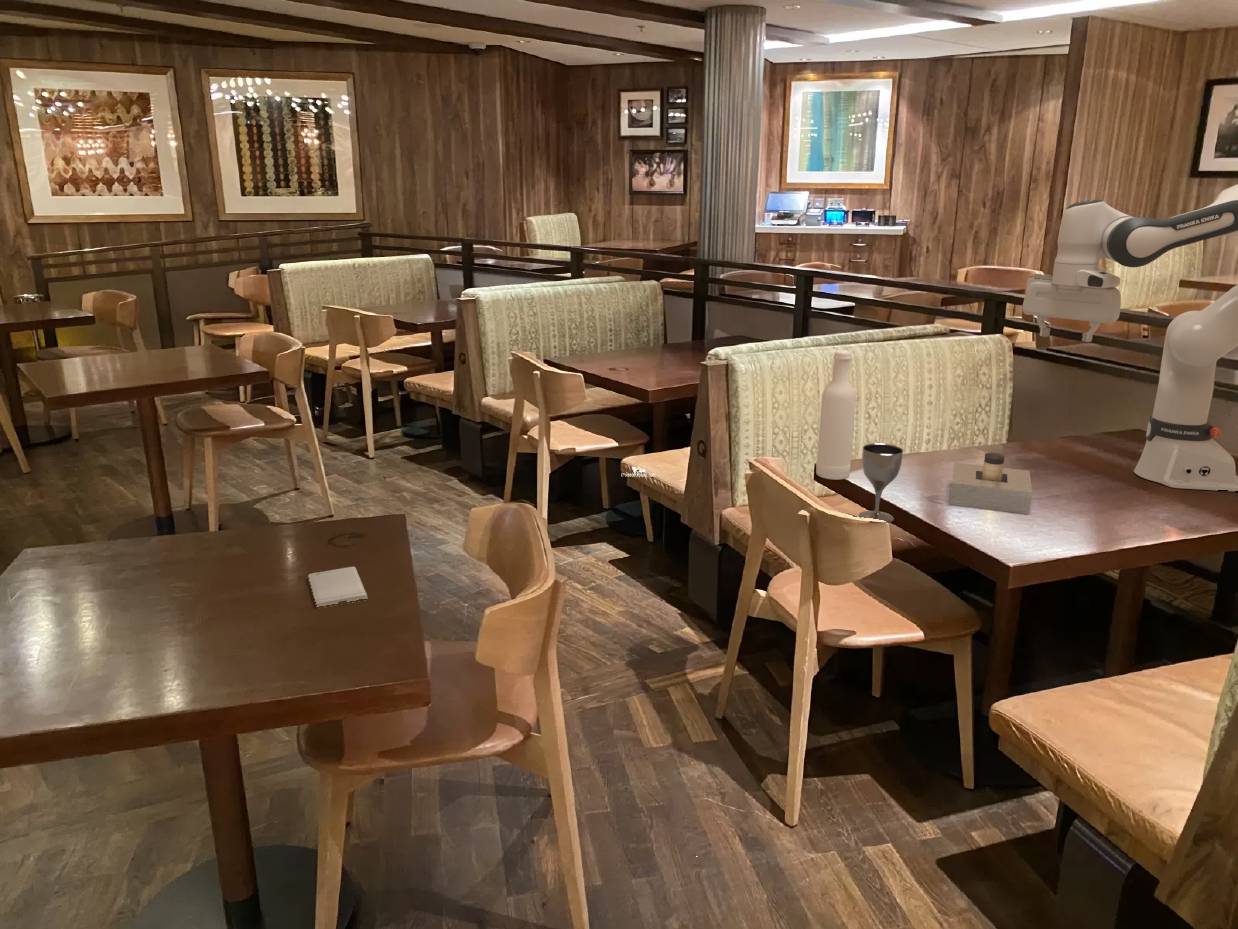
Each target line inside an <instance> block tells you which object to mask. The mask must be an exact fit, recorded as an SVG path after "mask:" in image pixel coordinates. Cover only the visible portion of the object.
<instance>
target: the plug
mask: <svg viewBox="0 0 1238 929" xmlns="http://www.w3.org/2000/svg"><path fill="white" fill-rule="evenodd" d="M1004 463H1005V455H1004V454H1002V453H998V452H987V453H984V458H983V473H982V480H987V481H996V482H1001V478H1002V471H1003V468H1004Z"/></svg>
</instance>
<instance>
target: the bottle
mask: <svg viewBox="0 0 1238 929" xmlns="http://www.w3.org/2000/svg"><path fill="white" fill-rule="evenodd" d="M851 353H852V352H851V351H850V350H846V349H844V350H843V349H837V350H835V351H834V355H833V368H832V370H833V371H832V380H831V381H830V382H829V383H828V384H826V385H825V386H824V389H823V391H822V395H821V403H820V405H821V406H820V417H819V429H818V430H819V431H818V440H817V442H818V444H817V456H816V462H815V463H816V464H815V468H816V469H815V470H816V471H815V473H816V475H817V476H818V477H820V478H823V479H826V480H833V481H834V480H835V481H836V480H838V481H839V480H846V479H848V478H849V476H850V472H851V464H852V463H851V461H852V460H851V459H852V448H853V438H854V426H855V417H856V416H855V415H856V403H857V394H856V389H855V388H854V386H853V385H852V384H851V382H850V381H849V376H850V365H851V359H852V357H851V355H852V354H851Z"/></svg>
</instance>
